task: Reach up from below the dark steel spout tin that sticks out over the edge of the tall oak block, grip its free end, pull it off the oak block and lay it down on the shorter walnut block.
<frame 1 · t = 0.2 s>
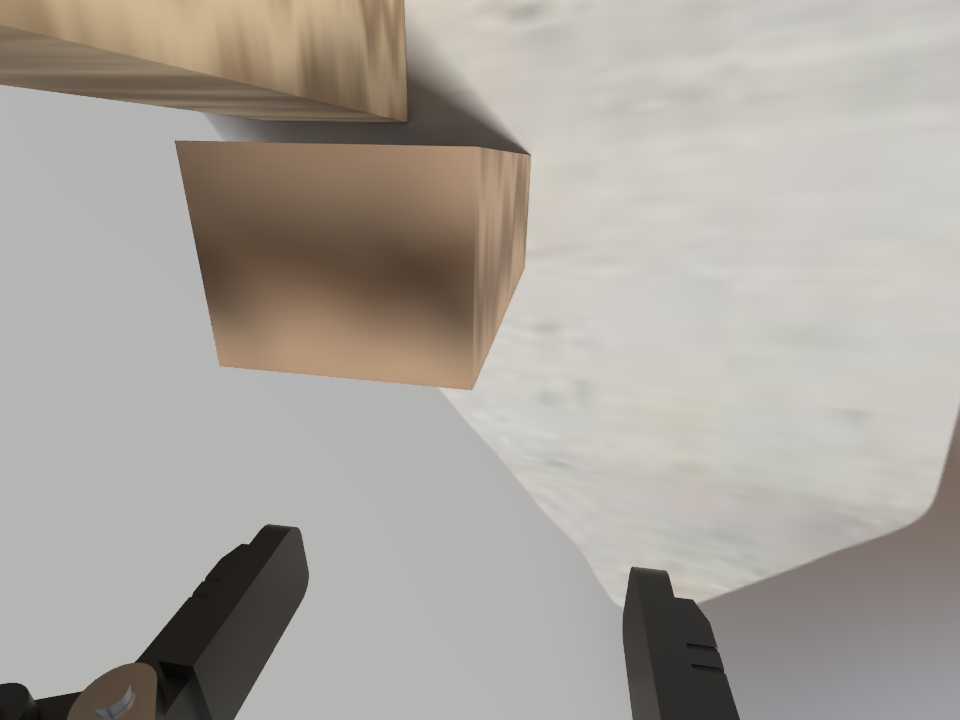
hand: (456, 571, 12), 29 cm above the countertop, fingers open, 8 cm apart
oak block: (328, 24, 33), on the countertop
walnut block: (461, 211, 37), on the countertop
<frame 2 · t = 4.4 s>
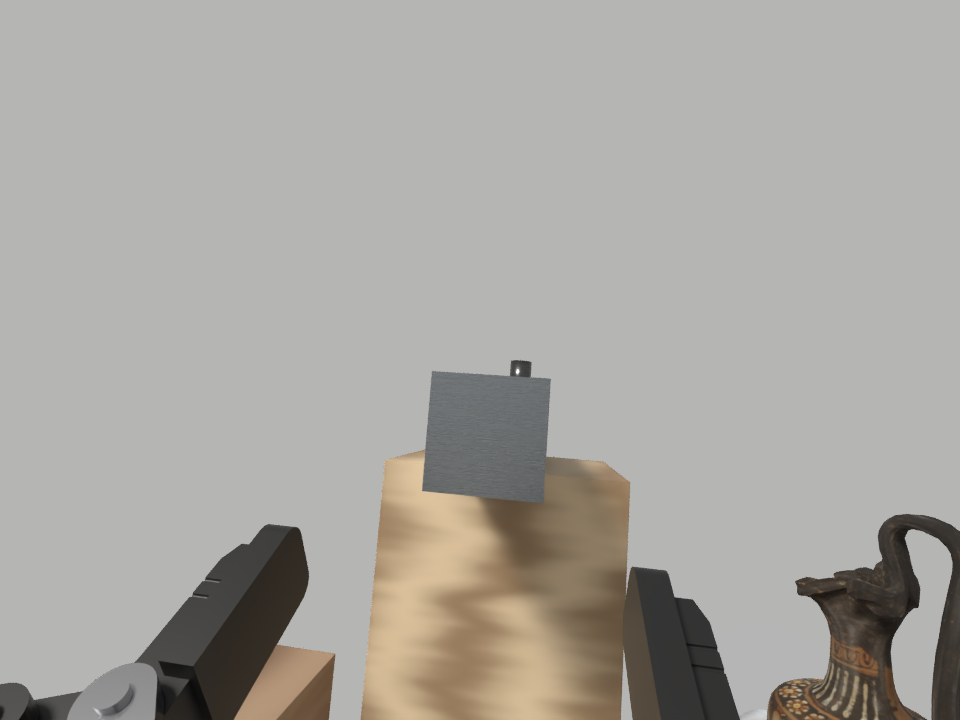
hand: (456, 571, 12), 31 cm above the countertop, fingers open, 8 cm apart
tin: (506, 466, 26), point 32 cm above the countertop, touching oak block
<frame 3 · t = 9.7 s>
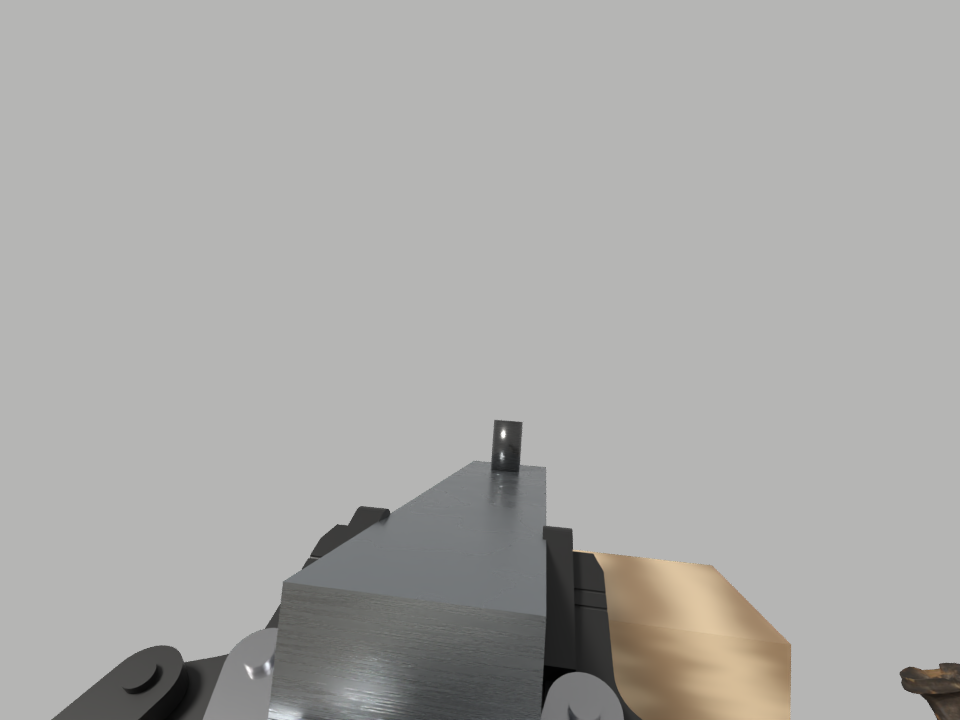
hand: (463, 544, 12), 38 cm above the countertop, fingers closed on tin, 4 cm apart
tin: (480, 611, 17), point 35 cm above the countertop, touching gripper
when the fingers open (27 cm above the countertop, at t = 12.4 s): tin drops 2 cm, resting on walnut block.
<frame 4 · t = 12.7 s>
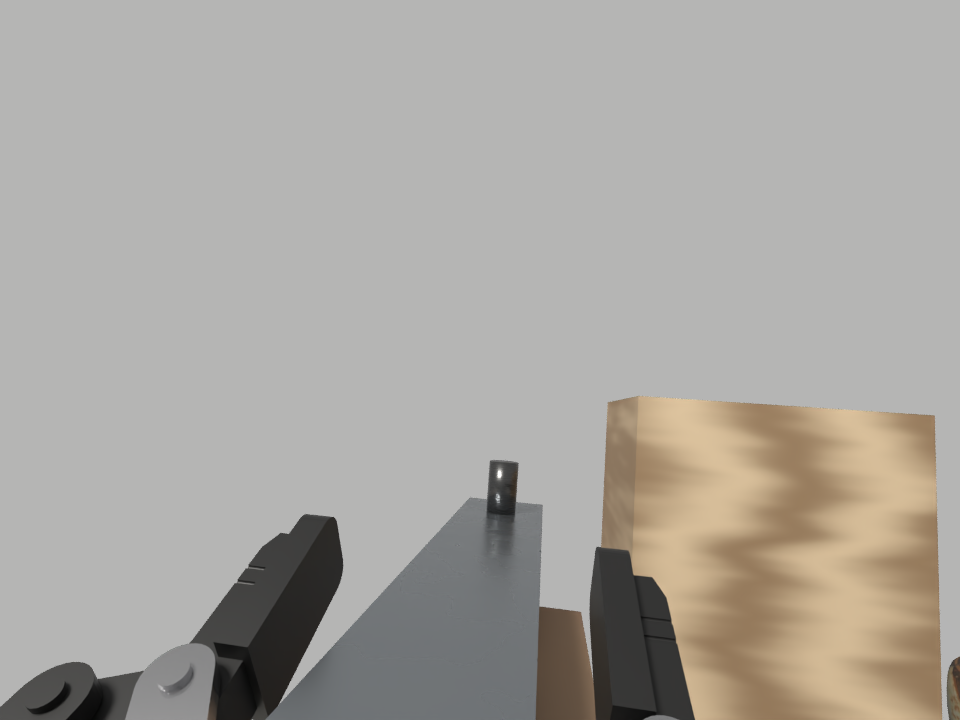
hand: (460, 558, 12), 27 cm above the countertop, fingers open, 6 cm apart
tin: (473, 674, 16), point 22 cm above the countertop, touching walnut block
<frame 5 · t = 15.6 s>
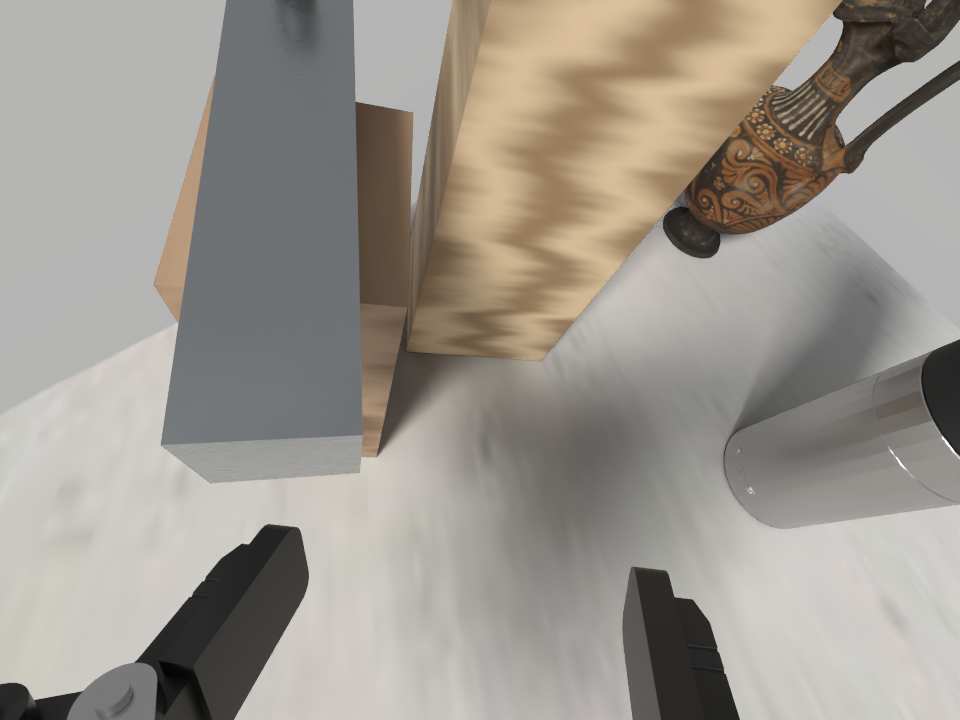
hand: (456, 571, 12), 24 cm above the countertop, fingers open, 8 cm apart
oak block: (473, 302, 44), on the countertop
tin: (298, 205, 18), point 22 cm above the countertop, touching walnut block
walnut block: (327, 392, 38), on the countertop
vase: (691, 238, 55), on the countertop
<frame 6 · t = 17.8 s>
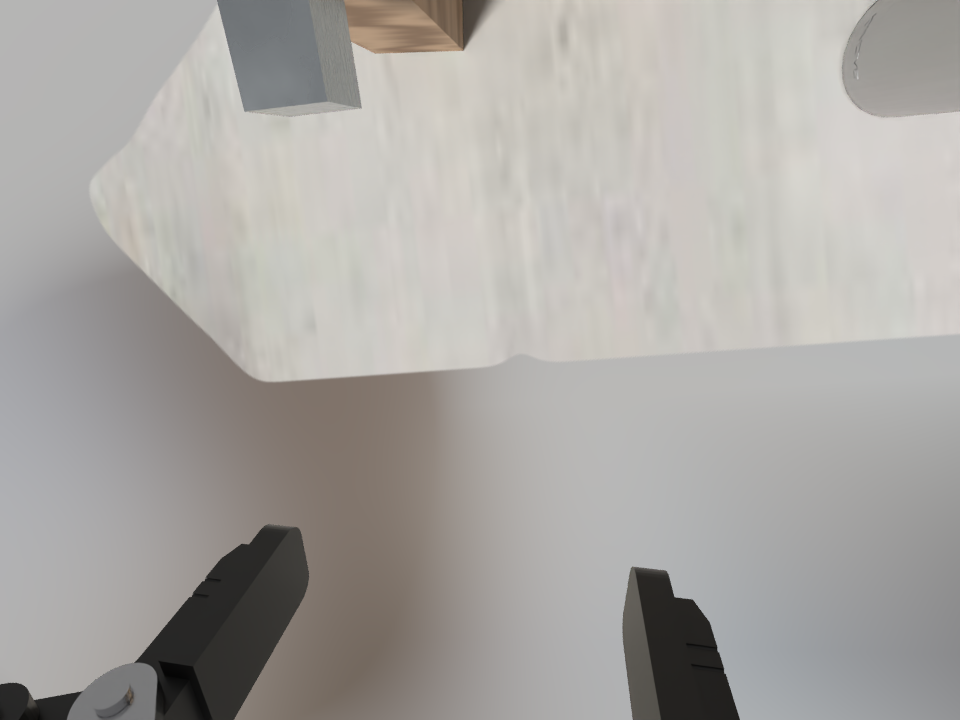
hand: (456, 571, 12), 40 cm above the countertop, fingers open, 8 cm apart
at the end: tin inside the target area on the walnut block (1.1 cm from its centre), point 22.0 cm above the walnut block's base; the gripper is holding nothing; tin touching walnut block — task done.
